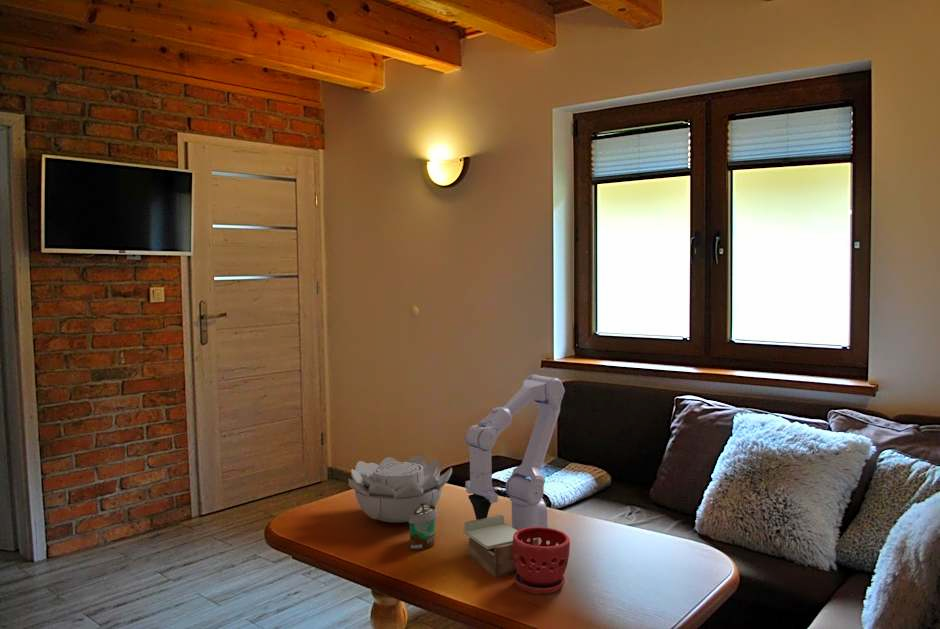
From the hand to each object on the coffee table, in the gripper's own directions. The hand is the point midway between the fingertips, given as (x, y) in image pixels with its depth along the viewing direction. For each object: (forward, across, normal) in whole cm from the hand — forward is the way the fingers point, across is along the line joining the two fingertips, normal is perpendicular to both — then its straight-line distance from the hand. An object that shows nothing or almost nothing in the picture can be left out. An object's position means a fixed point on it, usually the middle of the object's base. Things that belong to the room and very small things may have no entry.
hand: (481, 522), depth 195 cm
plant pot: (+7, +27, +1) cm, 28 cm away
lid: (+2, +7, 0) cm, 7 cm away
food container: (+7, -9, -12) cm, 16 cm away
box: (+7, +11, 0) cm, 13 cm away
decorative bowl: (+7, -33, -11) cm, 35 cm away
